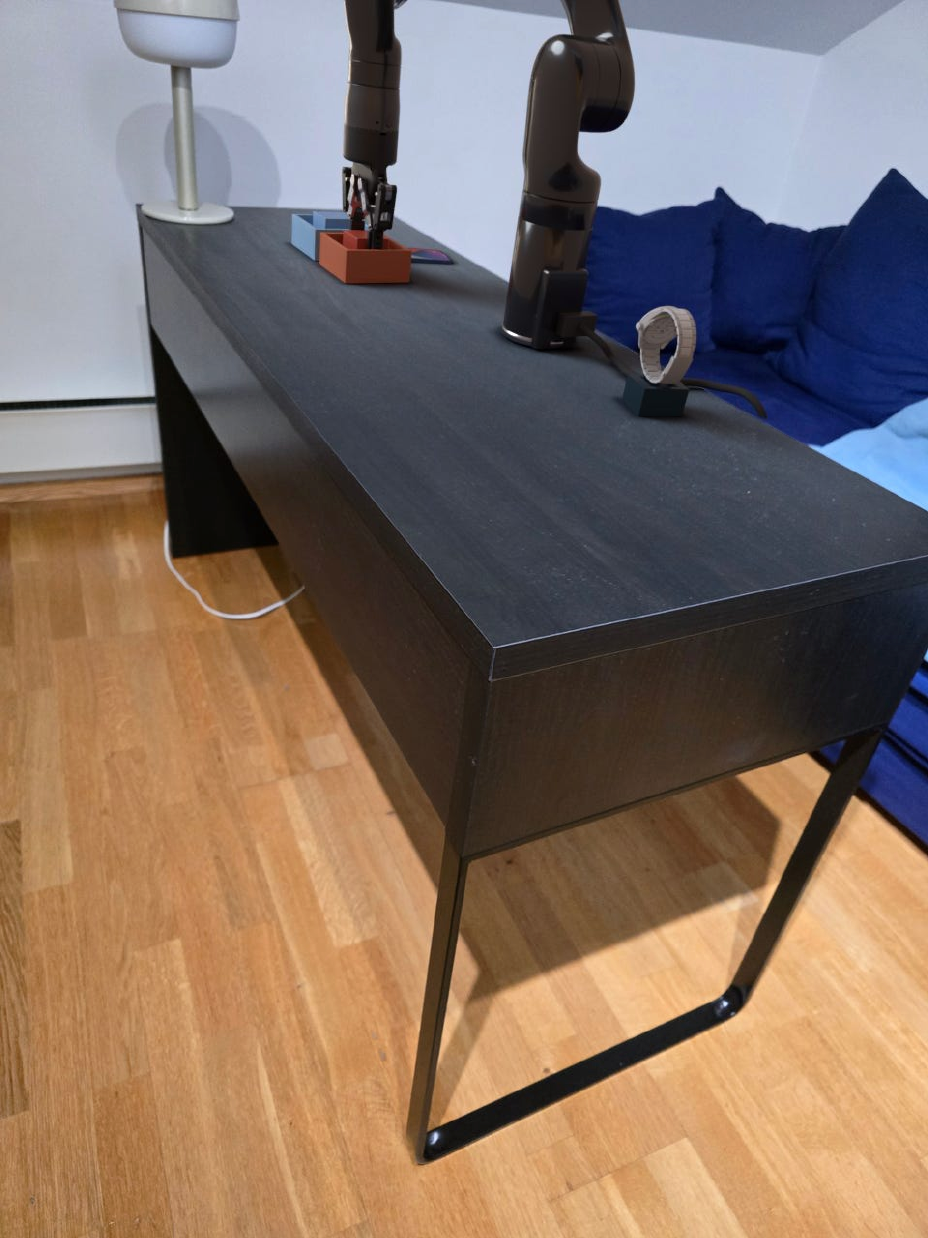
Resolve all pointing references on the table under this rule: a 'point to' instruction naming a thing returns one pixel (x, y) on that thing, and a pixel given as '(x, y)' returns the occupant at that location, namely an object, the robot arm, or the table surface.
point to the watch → (655, 387)
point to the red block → (359, 239)
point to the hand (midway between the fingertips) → (364, 252)
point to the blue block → (330, 220)
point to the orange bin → (364, 261)
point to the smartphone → (429, 256)
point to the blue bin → (309, 235)
